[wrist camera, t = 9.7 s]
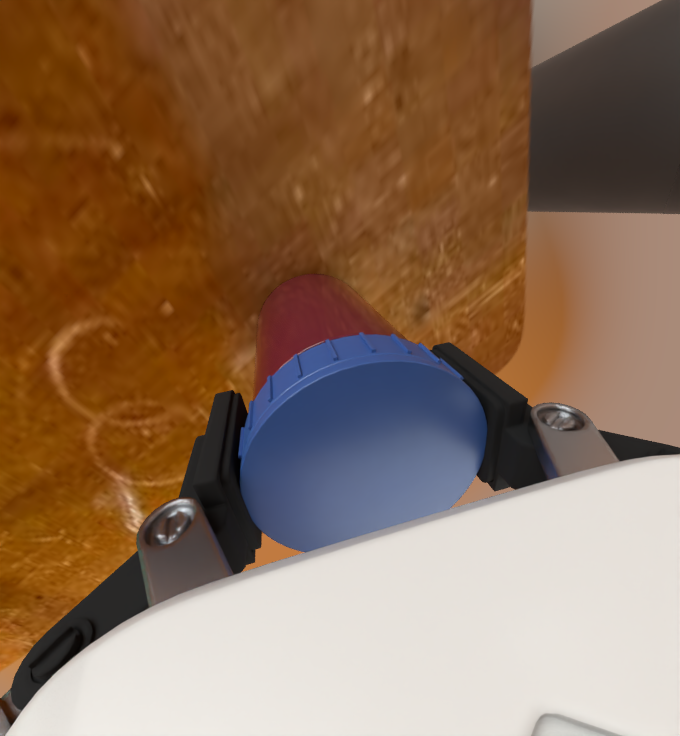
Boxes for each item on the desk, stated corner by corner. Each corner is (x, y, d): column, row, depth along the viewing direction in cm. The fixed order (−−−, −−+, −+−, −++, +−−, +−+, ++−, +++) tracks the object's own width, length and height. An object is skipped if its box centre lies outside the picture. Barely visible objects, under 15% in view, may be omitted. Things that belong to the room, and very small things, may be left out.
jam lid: (304, 537, 11) (310, 585, 10) (190, 402, 8) (173, 445, 6) (473, 457, 11) (503, 494, 10) (431, 287, 8) (467, 305, 6)
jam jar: (359, 261, 17) (470, 326, 8) (373, 363, 20) (465, 495, 11) (241, 289, 16) (210, 395, 7) (275, 390, 19) (285, 553, 10)
